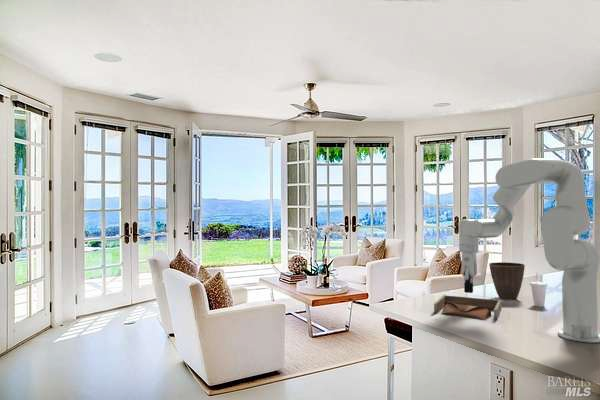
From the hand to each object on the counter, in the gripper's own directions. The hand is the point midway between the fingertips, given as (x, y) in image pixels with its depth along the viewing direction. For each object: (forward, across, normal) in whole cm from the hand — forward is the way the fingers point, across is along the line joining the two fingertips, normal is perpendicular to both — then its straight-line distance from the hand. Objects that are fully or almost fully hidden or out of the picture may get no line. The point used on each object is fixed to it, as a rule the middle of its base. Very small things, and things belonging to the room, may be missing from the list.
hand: (468, 292), depth 178 cm
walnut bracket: (+7, -5, -1) cm, 9 cm away
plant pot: (+7, +30, -13) cm, 33 cm away
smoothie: (+7, +20, -26) cm, 33 cm away
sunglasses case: (+8, -12, 0) cm, 14 cm away
